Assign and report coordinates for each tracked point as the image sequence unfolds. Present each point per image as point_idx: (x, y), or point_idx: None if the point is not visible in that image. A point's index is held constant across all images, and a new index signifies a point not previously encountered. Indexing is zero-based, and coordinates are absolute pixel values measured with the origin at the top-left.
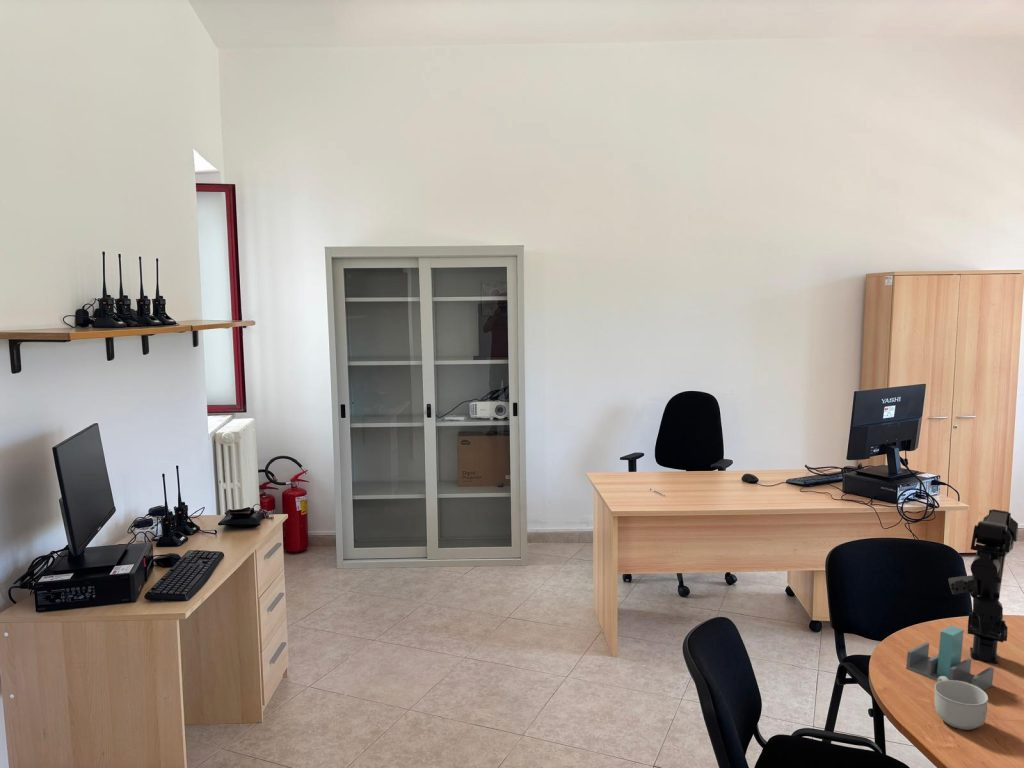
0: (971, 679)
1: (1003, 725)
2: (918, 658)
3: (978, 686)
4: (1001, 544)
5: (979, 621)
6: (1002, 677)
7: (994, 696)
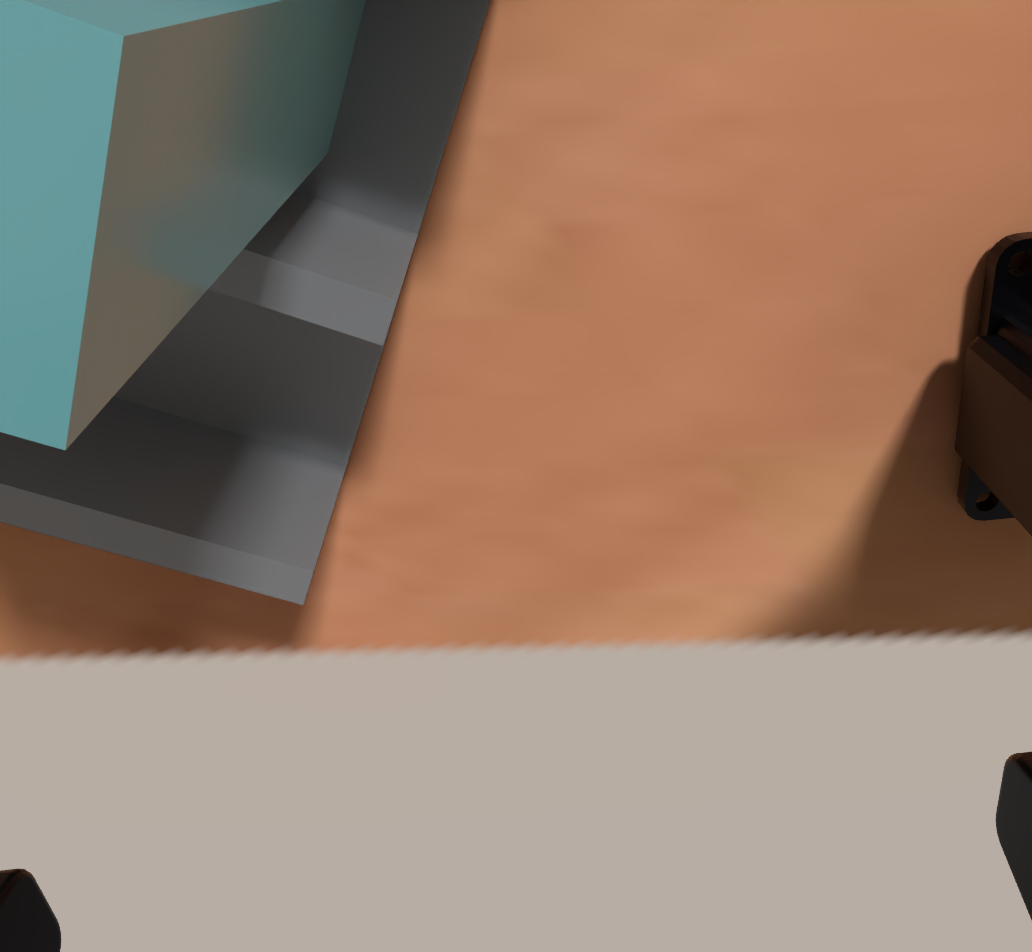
0: (238, 299)
1: None
2: None
3: None
4: None
5: (1013, 771)
6: (623, 550)
7: None
